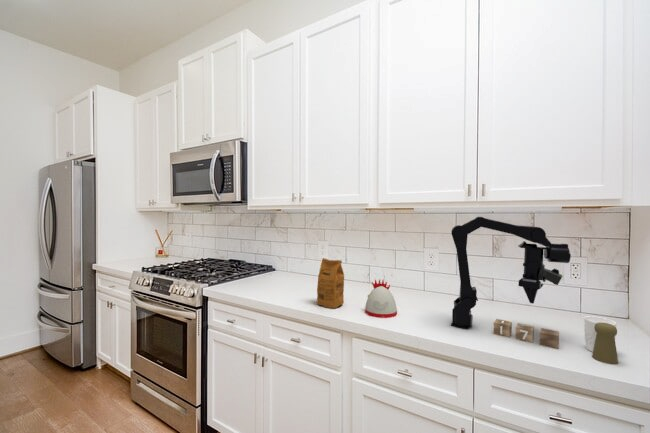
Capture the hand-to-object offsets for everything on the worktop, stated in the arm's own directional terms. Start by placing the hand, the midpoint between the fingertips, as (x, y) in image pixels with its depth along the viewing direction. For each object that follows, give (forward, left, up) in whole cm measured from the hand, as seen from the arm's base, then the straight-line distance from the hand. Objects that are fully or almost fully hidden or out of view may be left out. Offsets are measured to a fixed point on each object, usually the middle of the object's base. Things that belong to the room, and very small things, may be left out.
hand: (531, 303), depth 113 cm
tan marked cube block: (-1, -6, -12) cm, 13 cm away
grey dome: (-54, -14, -12) cm, 57 cm away
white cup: (+19, -1, -12) cm, 22 cm away
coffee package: (-78, -20, -12) cm, 82 cm away
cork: (+20, -8, -12) cm, 24 cm away
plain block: (+6, -6, -12) cm, 14 cm away
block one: (-8, -6, -12) cm, 16 cm away
